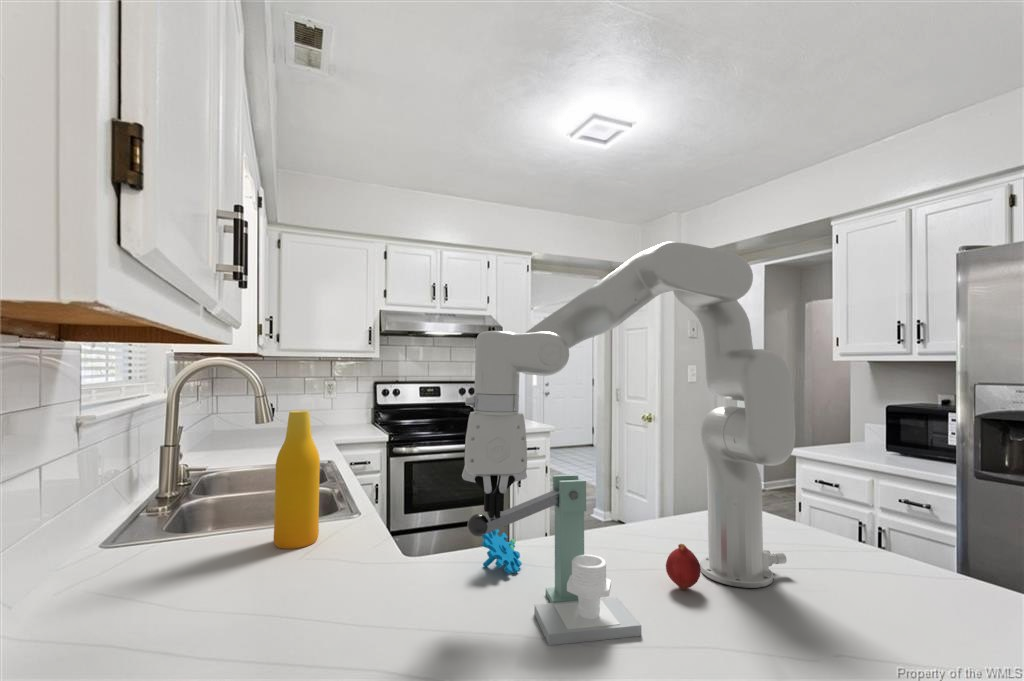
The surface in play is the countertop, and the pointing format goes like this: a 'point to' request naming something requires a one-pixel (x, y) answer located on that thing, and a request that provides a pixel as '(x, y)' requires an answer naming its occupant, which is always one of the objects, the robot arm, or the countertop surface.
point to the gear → (501, 551)
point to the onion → (683, 567)
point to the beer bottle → (297, 486)
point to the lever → (511, 514)
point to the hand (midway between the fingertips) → (493, 515)
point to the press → (563, 610)
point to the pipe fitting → (589, 584)
